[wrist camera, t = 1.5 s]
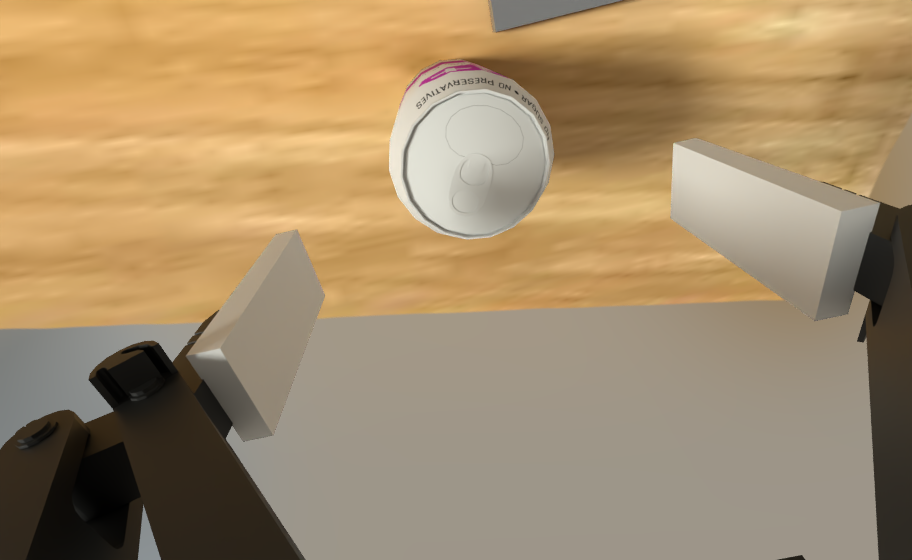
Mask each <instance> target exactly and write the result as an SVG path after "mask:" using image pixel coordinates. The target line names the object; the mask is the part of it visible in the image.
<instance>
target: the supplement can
mask: <svg viewBox="0 0 912 560" xmlns="http://www.w3.org/2000/svg"><path fill="white" fill-rule="evenodd" d="M553 159H554V149H553V141H552V134H551V126H550V124H549V122H548V120H547V118H546V117H545V115H544V113H543V111H542V109H541V107H540V105H539V104H538V102H537V100H536V99H535V98H534V97H533V96H532V95H530V94H529V93H528V92H527V91H526V90H524V89H523V88H522V87H521V86H520V85H518V84H517V83H516V82H515V81H514V80H512V79H510V78H508V77H505V76H503V75H501V74H499V73H496V72H494V71H492V70H489V69H487V68H485V67H483V66H480V65H478V64H474V63H471V62H468V61H465V60H462V59H452V60H440V61H438V62H436V63H434V64H432V65H430V66H428V67H426V68H424V69H422V70H421V71H420V72H419V73H418V74H417V75H416V76H415V77H414V79H413V80H412V81H411V82H410V83H409V84H408V85H407V88H406V90H405V93H404V95H403V98H402V101H401V103H400V106H399V110H398V113H397V117H396V120H395V124H394V127H393V131H392V134H391V138H390V152H389V171H390V174H391V177H392V180H393V183H394V186H395V189H396V192H397V195H398V198H399V199H400V200H401V201H402V203H403V204H404V205H405V207H406V208H407V209H408V210H409V212H410V213H411V214H412V215H413V217H414V218H415V219H416V220H418V221H420V222H421V223H423V224H424V225H426V226H428V227H429V228H431V229H432V230H434V231H436V232H437V233H441V234H445V235H449V236H454V237H458V238H462V239H476V238H487V237H492V236H495V235H497V234H499V233H501V232H504V231H506V230H508V229H511V228H513V227H514V226H515V225H517V224H518V223H519V222H520V221H521V220H522V219H523V218H524V217H526V216H527V215H528V214H529V213H530V212H531V211H532V210H533V208H534V207H535V205H536V203H537V202H538V200H539V198H540V196H541V195H542V193H543V191H544V190H545V188H546V186H547V185H548V183H549V178H550V173H551V168H552V164H553Z"/></svg>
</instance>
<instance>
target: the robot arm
mask: <svg viewBox="0 0 912 560" xmlns="http://www.w3.org/2000/svg"><path fill="white" fill-rule="evenodd" d="M671 219H672V220H673V221H675V222H676V223H678V224H679V225H680V226H682V227H683V228H685V229H686V230H687V231H689V232H690V233H692V234H693V235H694V236H696V237H697V238H699V239H700V240H701V241H703V242H704V243H706V244H707V245H709V246H710V247H711V248H713V249H714V250H716V251H717V252H718V253H720V254H721V255H723V256H724V257H725V258H727V259H728V260H730V261H731V262H732V263H734V264H735V265H737V266H738V267H739V268H741V269H742V270H744V271H745V272H746V273H748V274H749V275H751V276H752V277H753V278H755V279H756V280H758V281H759V282H760V283H762V284H763V285H765V286H766V287H767V288H769V289H770V290H772V291H773V292H774V293H776V294H777V295H779V296H780V297H781V298H783V299H784V300H786V301H787V302H789V303H790V304H791V305H793V306H794V307H795V308H797V309H798V310H800V311H801V312H802V313H804V314H806V315H807V316H808V317H810V318H811V319H812V320H814V321H818V320H823V319H827V318H831V317H837V316H842V315H846V314H848V312H849V309H850V305H851V302H852V298H853V295H854V291H856V292H858V293H859V294H861V295H863V296H865V297H866V298H868V299H870V302H869V305H868V308H867V311H866V314H865V318H864V321H863V324H862V327H861V330H860V334H859V337H858V340H857V341H858V342H864V340H865V339H866V337H867V353H868V371H869V389H870V406H871V426H872V442H873V462H874V480H875V498H876V515H877V516H876V517H877V534H878V552H879V560H912V205H908V206H905V207H903V208H901V209H899V208H896V207H893V206H890V205H887V204H884V203H882V202H879V201H876V200H873V199H870V198H868V197H865V196H862V195H856V193H853V192H851V191H848V190H842V188H839V187H836V186H834V185H831V184H828V183H825V182H820V181H817V180H814V179H811V178H808V177H805V176H803V175H800V174H797V173H794V172H791V171H788V170H786V169H783V168H780V167H777V166H774V165H772V164H769V163H766V162H763V161H760V160H757V159H755V158H752V157H749V156H746V155H743V154H741V153H738V152H735V151H732V150H729V149H726V148H724V147H721V146H718V145H715V144H712V143H710V142H707V141H704V140H701V139H698V138H693V139H688V140H684V141H680V142H675V143H673V166H672V192H671ZM324 297H325V294H324V292H323V289H322V287H321V285H320V282H319V280H318V278H317V275H316V273H315V271H314V268H313V266H312V263H311V261H310V259H309V256H308V254H307V252H306V249H305V247H304V245H303V242H302V240H301V238H300V235H299V233H298V231H297V230H292V231H288V232H284V233H279V234H276V235H275V236H274V237H273V239H272V240H271V241H270V243H269V244H268V245H267V247H266V248H265V250H264V251H263V252H262V254H261V255H260V256H259V258H258V259H257V260H256V262H255V263H254V264H253V266H252V267H251V268H250V270H249V271H248V273H247V274H246V275H245V277H244V278H243V279H242V281H241V282H240V283H239V285H238V286H237V287H236V289H235V290H234V291H233V293H232V294H231V295H230V297H229V298H228V300H227V301H226V302H225V304H224V305H223V306H222V308H221V309H220V310H218V311H217V312H215V313H214V314H213V315H212V316H210V317H209V318H208V319H207V320H205V321H204V322H203V323H202V325H201V326H200V327H199V329H198V330H197V331H196V332H195V336H192V338H191V339H190V340H189V342H188V343H187V344H188V345H186V346H185V347H184V348H183V349H182V351H181V352H180V353H179V355H178V356H177V357H176V358H175V360H174V361H173V362H171V360H170V359H169V358H168V356H167V355H166V353H165V352H164V350H163V349H162V347H161V346H160V345H159V343H157V342H155V341H144V342H140V343H137V344H133V345H131V346H128V347H126V348H124V349H122V350H120V351H118V352H116V353H114V354H113V355H111V356H109V357H107V358H106V359H105V360H104V361H102V362H101V363H100V364H98V365H97V366H96V367H95V369H94V370H93V371H92V372H91V373H90V376H89V381H90V382H91V383H92V385H93V386H94V387H95V388H96V389H97V390H98V392H99V393H100V394H101V395H102V396H103V397H104V399H105V400H106V401H107V402H108V404H109V405H110V406H111V407H112V408H113V410H114V412H111V413H109V414H107V415H104V416H102V417H99V418H97V419H94V420H92V421H89V422H87V423H84V422H83V421H82V420H81V419H80V418H79V417H78V416H77V415H76V414H75V413H74V412H72V411H70V410H62V411H57V412H54V413H52V414H49V415H46V416H44V417H42V418H40V419H38V420H34V421H32V422H30V423H28V424H27V425H26V427H22V428H21V429H20V430H18V431H17V432H16V433H15V435H14V436H13V437H11V438H10V439H9V440H8V441H7V442H6V443H5V444H4V445H3V447H2V448H1V449H0V560H138V552H139V541H140V532H141V521H142V512H143V504H144V507H145V510H146V514H147V517H148V520H149V523H150V526H151V529H152V532H153V536H154V539H155V542H156V545H157V548H158V551H159V554H160V557H161V560H305V558H304V557H303V555H302V554H301V552H300V551H299V549H298V548H297V546H296V544H295V543H294V542H293V540H292V538H291V537H290V535H289V534H288V532H287V531H286V529H285V528H284V526H283V525H282V523H281V522H280V520H279V519H278V517H277V516H276V514H275V513H274V511H273V510H272V508H271V507H270V505H269V504H268V502H267V501H266V499H265V497H264V496H263V494H262V493H261V491H260V490H259V488H258V487H257V485H256V484H255V482H254V481H253V479H252V478H251V477H250V475H249V473H248V472H247V470H246V469H245V467H244V466H243V464H242V463H241V461H240V460H239V458H238V457H237V455H236V454H235V452H234V451H233V449H232V448H231V446H230V445H229V444H228V442H227V441H226V437H227V435H228V433H229V430H230V429H231V426H233V427H234V429H235V430H236V432H237V433H238V435H239V436H240V438H241V439H242V440H243V442H245V441H249V440H254V439H259V438H264V437H268V436H272V435H274V432H275V430H276V427H277V424H278V421H279V419H280V416H281V413H282V411H283V408H284V405H285V403H286V400H287V397H288V394H289V392H290V389H291V386H292V384H293V381H294V378H295V375H296V373H297V370H298V367H299V365H300V362H301V359H302V356H303V354H304V351H305V348H306V346H307V343H308V340H309V338H310V335H311V332H312V330H313V327H314V324H315V322H316V319H317V316H318V313H319V311H320V308H321V305H322V303H323V300H324ZM779 560H805V559H804V557H803V556H802V555H800V556H795V557H789V558H785V559H779Z"/></svg>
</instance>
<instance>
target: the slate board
mask: <svg viewBox="0 0 912 560" xmlns="http://www.w3.org/2000/svg"><path fill="white" fill-rule="evenodd" d="M617 1H621V0H488V2H489V9H490V15H491V22H492V28H493V32H498V31H502V30H506V29H510V28H514V27H518V26H522V25H526V24H530V23H534V22H538V21H542V20H546V19H550V18H554V17H558V16H562V15H566V14H570V13H574V12H578V11H582V10H586V9H590V8H594V7H598V6H602V5H606V4H609V3H613V2H617Z"/></svg>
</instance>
